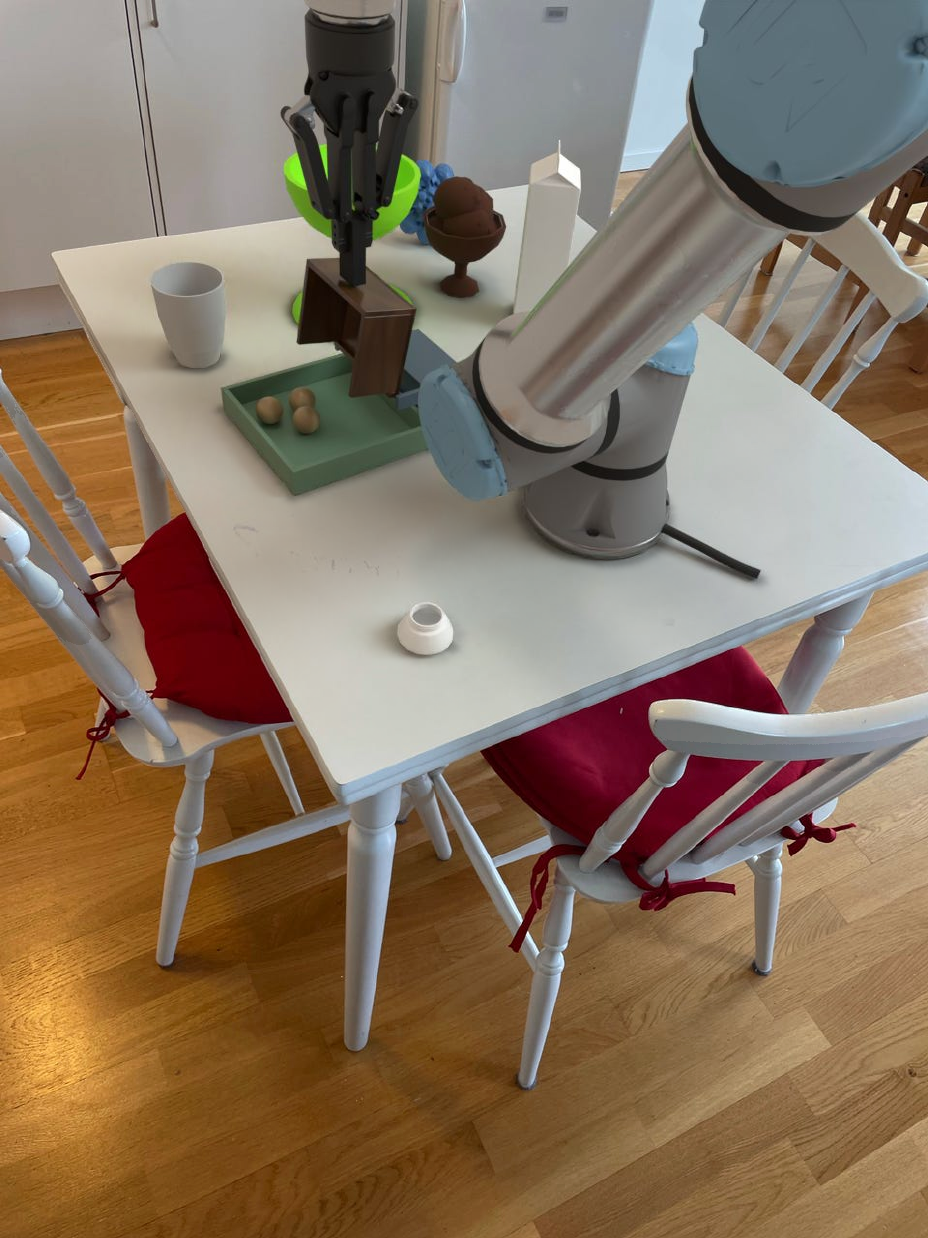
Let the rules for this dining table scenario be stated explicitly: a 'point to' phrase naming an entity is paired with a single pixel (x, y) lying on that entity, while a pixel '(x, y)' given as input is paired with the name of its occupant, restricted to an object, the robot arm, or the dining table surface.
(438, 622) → the lidless jar
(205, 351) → the cup
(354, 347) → the brown wooden box
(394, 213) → the wineglass
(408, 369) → the stand
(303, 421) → the wooden ball
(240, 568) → the dining table surface
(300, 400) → the wooden ball
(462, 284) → the ice cream bowl
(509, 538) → the dining table surface
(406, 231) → the grapes
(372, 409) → the tray
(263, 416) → the wooden ball
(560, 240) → the milk
